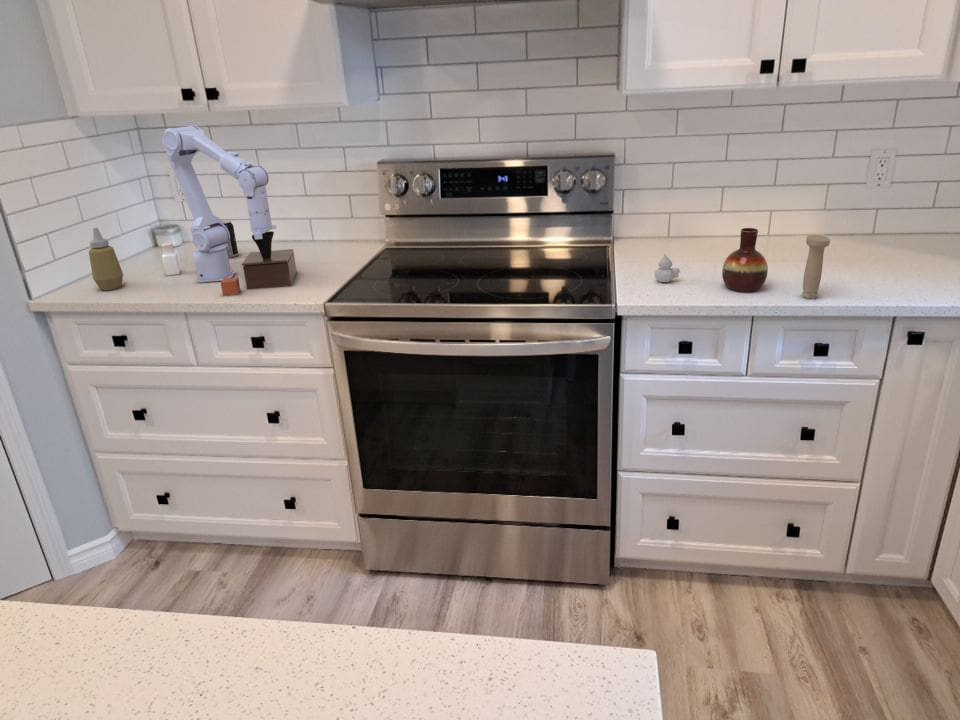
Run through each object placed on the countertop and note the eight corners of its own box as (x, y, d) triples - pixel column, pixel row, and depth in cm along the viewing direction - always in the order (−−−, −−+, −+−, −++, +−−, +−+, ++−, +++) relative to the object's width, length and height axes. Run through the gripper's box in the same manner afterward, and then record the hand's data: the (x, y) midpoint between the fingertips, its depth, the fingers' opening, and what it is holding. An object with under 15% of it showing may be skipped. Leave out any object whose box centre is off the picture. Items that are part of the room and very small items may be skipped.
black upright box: (230, 253, 238) (223, 218, 233) (242, 254, 236) (236, 219, 231) (217, 257, 233) (210, 222, 229) (229, 259, 231) (222, 223, 226)
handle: (815, 293, 176) (824, 234, 170) (823, 301, 170) (833, 241, 164) (795, 293, 176) (803, 235, 170) (802, 301, 170) (812, 241, 164)
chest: (291, 285, 200) (287, 263, 198) (247, 289, 199) (242, 266, 196) (296, 272, 213) (293, 251, 210) (255, 275, 211) (251, 254, 209)
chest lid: (287, 262, 197) (287, 260, 196) (241, 265, 195) (241, 263, 195) (293, 250, 210) (293, 249, 210) (251, 254, 209) (250, 252, 208)
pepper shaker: (180, 271, 220) (174, 241, 216) (179, 274, 216) (173, 244, 213) (167, 272, 219) (160, 243, 215) (166, 276, 215) (159, 246, 211)
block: (223, 295, 194) (220, 282, 193) (226, 291, 198) (223, 278, 196) (237, 294, 195) (235, 281, 193) (240, 290, 198) (238, 277, 197)
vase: (713, 289, 181) (719, 231, 175) (731, 279, 189) (737, 222, 183) (755, 297, 175) (763, 237, 168) (771, 286, 182) (779, 228, 176)
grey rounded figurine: (653, 278, 192) (655, 250, 189) (677, 278, 191) (680, 250, 188) (654, 284, 187) (656, 255, 184) (679, 284, 186) (682, 256, 183)
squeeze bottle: (118, 282, 211) (103, 223, 204) (131, 286, 207) (115, 226, 199) (91, 289, 206) (74, 229, 198) (103, 293, 201) (86, 232, 194)
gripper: (269, 215, 188) (277, 263, 194) (277, 205, 202) (284, 250, 207) (243, 217, 188) (251, 265, 193) (252, 206, 201) (260, 252, 206)
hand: (266, 258), depth 200 cm, fingers closed, pressing on chest lid
